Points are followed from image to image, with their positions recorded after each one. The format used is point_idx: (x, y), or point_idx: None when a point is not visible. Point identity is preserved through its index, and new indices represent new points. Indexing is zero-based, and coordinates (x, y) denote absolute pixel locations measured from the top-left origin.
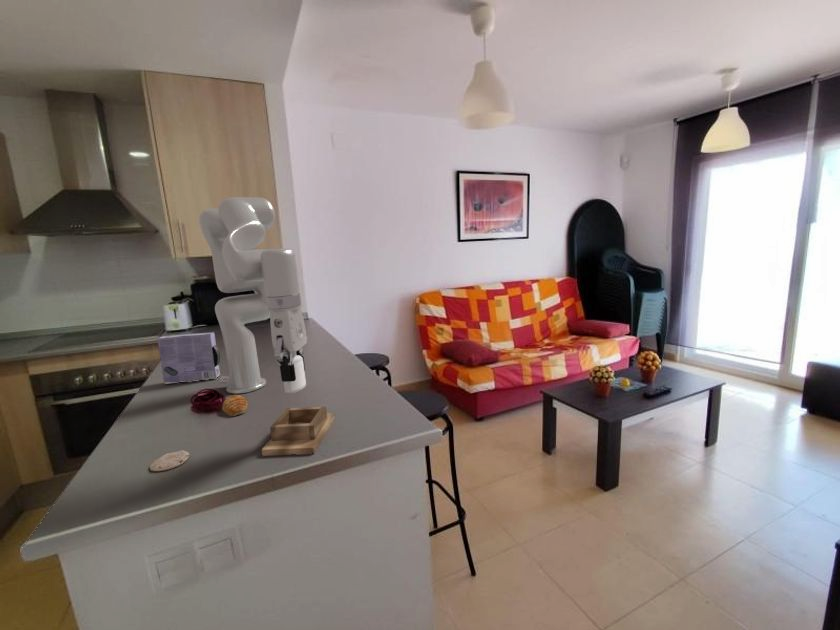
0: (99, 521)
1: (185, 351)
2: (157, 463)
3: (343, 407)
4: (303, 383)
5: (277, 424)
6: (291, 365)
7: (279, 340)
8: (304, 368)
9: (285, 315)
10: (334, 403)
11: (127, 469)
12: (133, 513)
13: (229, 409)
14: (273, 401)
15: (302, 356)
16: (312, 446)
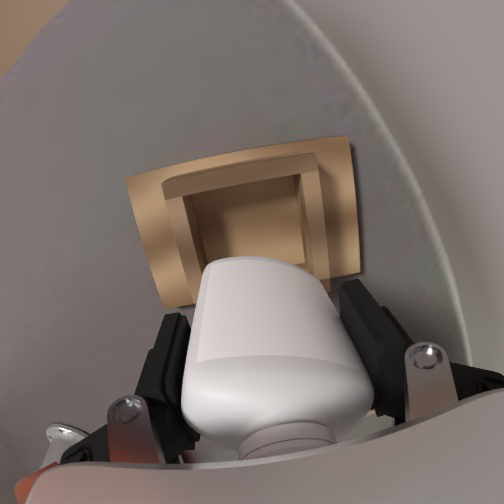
0: (468, 361)
1: None
2: (369, 411)
3: (68, 187)
4: (245, 265)
5: None
6: (400, 348)
7: None
8: (172, 321)
9: None
10: (54, 229)
11: (370, 429)
12: (467, 341)
13: None
14: (100, 385)
15: (158, 388)
16: (342, 141)
